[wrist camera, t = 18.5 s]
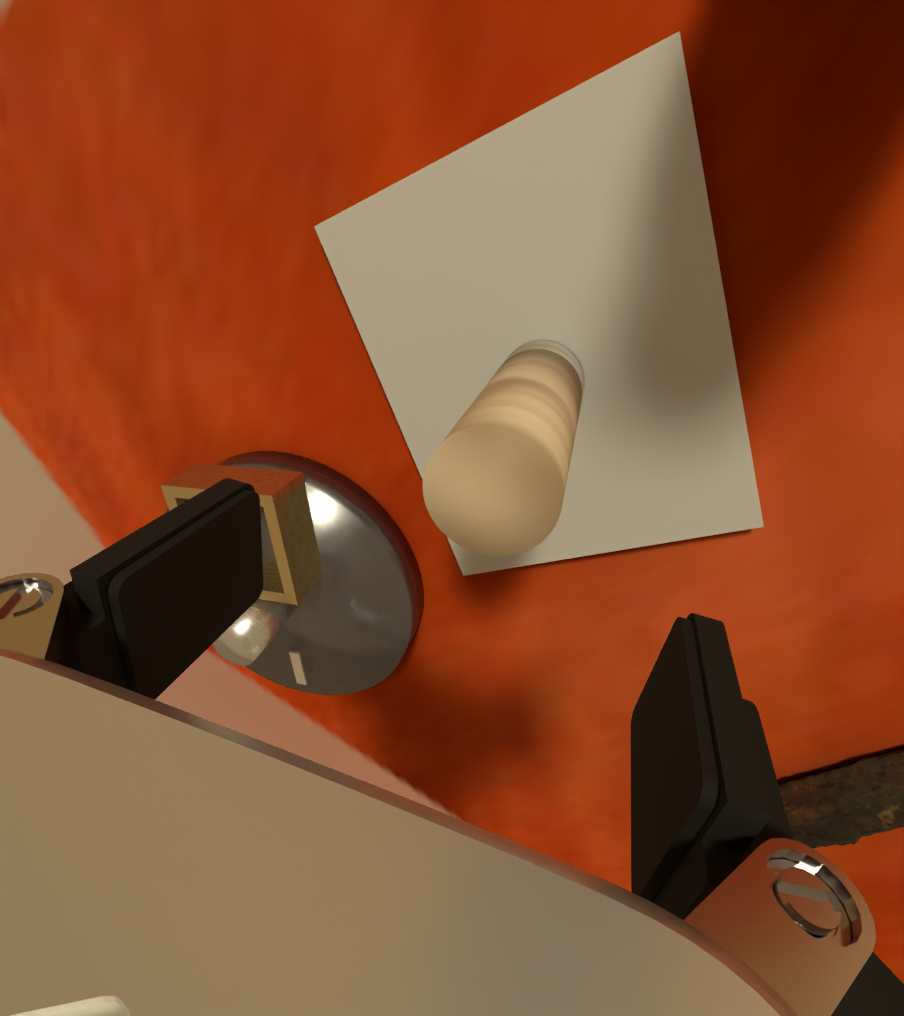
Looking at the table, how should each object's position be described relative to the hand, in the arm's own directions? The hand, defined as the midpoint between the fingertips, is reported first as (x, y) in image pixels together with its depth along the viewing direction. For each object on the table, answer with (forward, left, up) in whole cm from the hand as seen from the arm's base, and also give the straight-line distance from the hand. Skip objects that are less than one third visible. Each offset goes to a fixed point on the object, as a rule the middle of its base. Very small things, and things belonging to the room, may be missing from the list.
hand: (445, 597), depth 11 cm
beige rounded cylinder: (0, 0, -16) cm, 16 cm away
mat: (+1, 0, -17) cm, 17 cm away
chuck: (-7, +20, -17) cm, 27 cm away
